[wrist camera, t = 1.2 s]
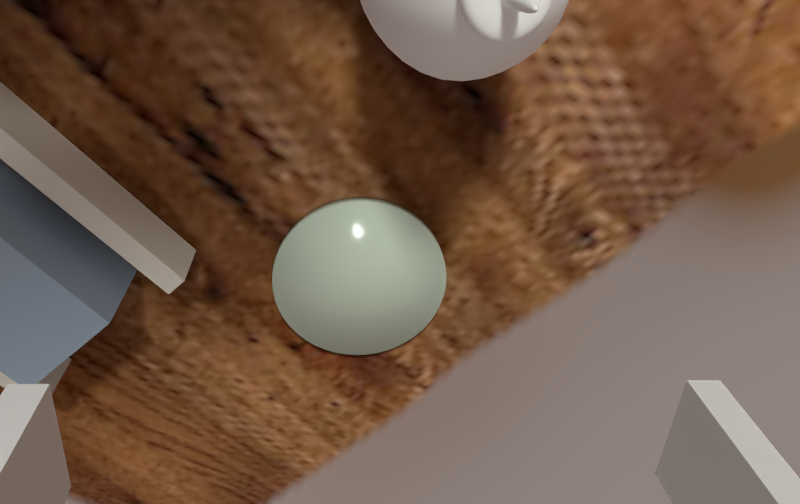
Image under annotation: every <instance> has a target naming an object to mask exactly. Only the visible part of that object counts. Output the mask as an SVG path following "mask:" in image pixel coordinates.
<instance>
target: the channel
mask: <svg viewBox="0 0 800 504" xmlns="http://www.w3.org/2000/svg"><path fill="white" fill-rule="evenodd" d="M0 159H2V160H3V161H4V162H5V163H6V164H8V165H9V166H10V167H11V168H13V169H14V170H15V171H16V172H18V173H19V174H20V175H21V176H23V177H24V178H25V179H26V180H28V181H29V182H30V183H31V184H32V185H34V186H35V187H36V188H37V189H39V190H40V191H41V192H42V193H44V194H45V195H46V196H47V197H49V198H50V199H51V200H52V201H54V202H55V203H56V204H57V205H58V206H60V207H61V208H62V209H63V210H65V211H66V212H67V213H68V214H70V215H71V216H72V217H73V218H75V219H76V220H77V221H78V222H79V223H81V224H82V225H83V226H84V227H86V228H87V229H88V230H89V231H91V232H92V233H93V234H94V235H96V236H97V237H98V238H99V239H101V240H102V241H103V242H104V243H105V244H107V245H108V246H109V247H110V248H112V249H113V250H114V251H115V252H117V253H118V254H119V255H120V256H122V257H123V258H124V259H125V260H126V261H128V262H129V263H130V264H131V265H133V266H134V267H135V268H136V269H138V270H139V271H140V272H141V273H143V274H144V275H145V276H146V277H148V278H149V279H150V280H151V281H152V282H154V283H155V284H156V285H157V286H159V287H160V288H161V289H162V290H164V291H165V292H166V293H167V294H170V293H171V292H172V291H173V290H175V289H176V288H177V287H178V286H179V285H180V284H181V283H183V282H184V281H185V279H186V276H187V273H188V271H189V268H190V266H191V263H192V260H193V258H194V255H195V253H196V249H194V248H193V247H192V246H191V245H190V244H189V243H187V242H186V241H185V240H184V239H183V238H182V237H181V236H179V235H178V234H177V233H176V232H175V231H174V230H172V229H171V228H170V227H169V226H168V225H167V224H165V223H164V222H163V221H162V220H161V219H160V218H158V217H157V216H156V215H155V214H154V213H153V212H151V211H150V210H149V209H148V208H147V207H146V206H144V205H143V204H142V203H141V202H140V201H139V200H138V199H136V198H135V197H134V196H133V195H132V194H131V193H129V192H128V191H127V190H126V189H125V188H124V187H122V186H121V185H120V184H119V183H118V182H117V181H115V180H114V179H113V178H112V177H111V176H110V175H108V174H107V173H106V172H105V171H104V170H103V169H101V168H100V167H99V166H98V165H97V164H96V163H94V162H93V161H92V160H91V159H90V158H89V157H88V156H86V155H85V154H84V153H83V152H82V151H81V150H79V149H78V148H77V147H76V146H75V145H74V144H72V143H71V142H70V141H69V140H68V139H67V138H65V137H64V136H63V135H62V134H61V133H60V132H58V131H57V130H56V129H55V128H54V127H53V126H51V125H50V124H49V123H48V122H47V121H46V120H45V119H43V118H42V117H41V116H40V115H39V114H38V113H36V112H35V111H34V110H33V109H32V108H31V107H29V106H28V105H27V104H26V103H25V102H24V101H22V100H21V99H20V98H19V97H18V96H17V95H15V94H14V93H13V92H12V91H11V90H10V89H8V88H7V87H6V86H5V85H4V84H3V83H2V82H0ZM71 360H72V359H71V358H69V357H68V358H67V359H66V360H65V361H64V362H62V363H61V364H60V365H59V366H57V367H56V368H55V369H54V370H53V371H51V372H50V373H49V374H48V375H47V376H45V377H44V378H43V379H42V380H41V381H39V382H38V383H37V384H50V388H51V393H53V392H54V390H55V388H56V386H57V385H58V383H59V381H60V379H61V378H62V376H63V374H64V372H65V371H66V369H67V367H68V365H69V364H70V362H71ZM7 384H18V383H16V382H15V381H13V380H12V379H10V378H9V377H8V376H6V375H5V374H3V373H2V372H0V386H2V387H3V388H5V387H6V386H7Z"/></svg>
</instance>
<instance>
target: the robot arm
mask: <svg viewBox="0 0 800 504" xmlns="http://www.w3.org/2000/svg"><path fill="white" fill-rule="evenodd" d="M656 475H657V477H658V478H659V480H660V482H661V484H662V485H663V487H664V489H665V491H666V493H667V494H668V496H669V498H670V500H671V501H672V503H673V504H800V479H799V477H798V476H797V475H796V474H795V473H794V471H793V470H792V469H791V467H790V466H789V465H788V464H787V463H786V461H785V460H784V459H783V458H782V456H781V455H780V454H779V453H778V452H777V450H776V449H775V448H774V447H773V445H772V444H771V443H770V442H769V440H768V439H767V438H766V437H765V436H764V434H763V433H762V432H761V431H760V429H759V428H758V427H757V425H756V424H755V423H754V422H753V421H752V419H751V418H750V417H749V416H748V414H747V413H746V412H745V411H744V409H743V408H742V407H741V406H740V404H739V403H738V402H737V401H736V400H735V398H734V397H733V396H732V395H731V393H729V391H728V390H727V388H726V387H725V386H724V385H723V383H722V382H721V381H720V380H687V382H686V385H685V387H684V390H683V393H682V397H681V399H680V402H679V405H678V408H677V411H676V414H675V417H674V420H673V423H672V426H671V429H670V432H669V434H668V437H667V440H666V444H665V446H664V449H663V452H662V455H661V458H660V461H659V464H658V467H657V470H656ZM70 489H71V483H70V478H69V473H68V469H67V464H66V459H65V455H64V450H63V445H62V440H61V436H60V431H59V426H58V421H57V417H56V412H55V407H54V402H53V398H52V393H51V388H50V384H7V386H6V387H5V389H4V390H3V392H2V394H1V395H0V504H64V503H65V500H66V498H67V496H68V493H69V491H70Z"/></svg>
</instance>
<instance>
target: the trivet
mask: <svg viewBox="0 0 800 504" xmlns="http://www.w3.org/2000/svg"><path fill="white" fill-rule="evenodd" d="M272 287H273V294H274V298H275V302H276V304H277V307H278V309H279V311H280V313H281V315H282V317H283V318H284V320H285V321H286V322H287V324H288V325H289V326H290V327H291V328H292V329H293V330H294V331H295V332H296V333H297V334H298V335H299V336H301V337H302V338H303V339H305V340H306V341H308V342H310V343H311V344H313V345H315V346H317V347H320V348H322V349H325V350H328V351H331V352H335V353H341V354H348V355H367V354H374V353H379V352H383V351H387V350H389V349H392V348H395V347H397V346H399V345H401V344H403V343H405V342H407V341H408V340H410V339H411V338H413V337H414V336H416V335H417V334H418V333H419V332H420V331H422V330H423V329H424V328H425V327H426V326H427V325H428V323H429V322H430V321H431V320H432V318H433V317H434V315H435V314H436V312H437V310H438V309H439V307H440V305H441V302H442V299H443V296H444V293H445V288H446V266H445V262H444V257H443V254H442V251H441V248H440V246H439V244H438V241H437V239H436V238H435V236H434V234H433V233H432V231H431V230H430V229H429V228H428V226H427V225H426V224H425V223H424V222H423V221H422V220H421V219H420V218H419V217H418V216H416V215H415V214H413V213H412V212H410V211H409V210H407V209H405V208H403V207H402V206H400V205H397V204H394V203H392V202H389V201H385V200H381V199H377V198H367V197H354V198H346V199H340V200H336V201H333V202H329V203H327V204H324V205H322V206H319V207H318V208H316V209H314V210H312V211H310V212H309V213H307V214H306V215H305V216H303V217H302V218H301V219H299V220H298V221H297V222H296V223H295V224H294V225H293V226H292V227H291V229H290V230H289V231H288V232H287V234H286V235H285V237H284V238H283V240H282V242H281V244H280V246H279V248H278V251H277V253H276V257H275V261H274V266H273V275H272Z"/></svg>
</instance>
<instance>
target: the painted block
mask: <svg viewBox="0 0 800 504" xmlns="http://www.w3.org/2000/svg"><path fill="white" fill-rule="evenodd" d="M137 270H138V269H136V268H135V267H134V266H133V265H131V264H130V263H129V262H128V261H126V260H125V259H124V258H123V257H122V256H120V255H119V254H118V253H117V252H115V251H114V250H113V249H112V248H110V247H109V246H108V245H107V244H105V243H104V242H103V241H102V240H101V239H99V238H98V237H97V236H96V235H94V234H93V233H92V232H91V231H89V230H88V229H87V228H86V227H84V226H83V225H82V224H81V223H79V222H78V221H77V220H76V219H75V218H73V217H72V216H71V215H70V214H68V213H67V212H66V211H65V210H63V209H62V208H61V207H60V206H58V205H57V204H56V203H55V202H54V201H52V200H51V199H50V198H49V197H47V196H46V195H45V194H44V193H42V192H41V191H40V190H39V189H37V188H36V187H35V186H34V185H32V184H31V183H30V182H29V181H28V180H26V179H25V178H24V177H23V176H21V175H20V174H19V173H18V172H16V171H15V170H14V169H13V168H11V167H10V166H9V165H8V164H6V163H5V162H4V161H3V160H2V159H0V372H2V373H3V374H5V375H6V376H8V377H9V378H10V379H12V380H13V381H15V382H16V383H18V384H37V383H38V382H39V381H41V380H42V379H43V378H44V377H45V376H47V375H48V374H49V373H50V372H51V371H53V370H54V369H55V368H56V367H57V366H59V365H60V364H61V363H62V362H64V361H65V360H66V359H67V358H68V357H70V356H71V355H72V354H73V353H74V352H76V351H77V350H78V349H79V348H80V347H82V346H83V345H84V344H85V343H87V342H88V341H89V340H90V339H91V338H93V337H94V336H95V335H96V334H97V333H99V332H100V331H101V330H102V329H103V328H105V327H106V326H107V325H108V324H109V323H110V322H111V320H112V318H113V316H114V314H115V312H116V310H117V308H118V306H119V304H120V303H121V301H122V299H123V297H124V295H125V293H126V291H127V289H128V287H129V285H130V283H131V282H132V280H133V278H134V276H135V274H136V272H137Z"/></svg>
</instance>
